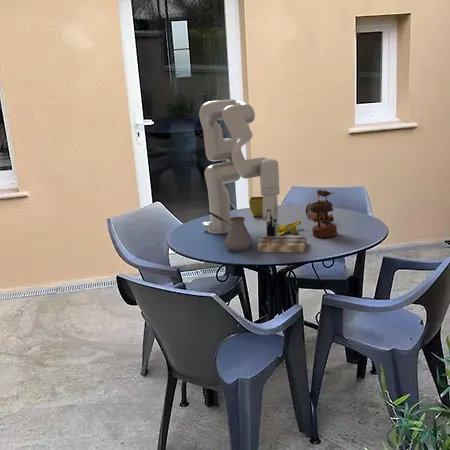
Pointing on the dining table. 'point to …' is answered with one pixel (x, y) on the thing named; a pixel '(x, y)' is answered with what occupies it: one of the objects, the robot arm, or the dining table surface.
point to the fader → (275, 231)
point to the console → (282, 244)
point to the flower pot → (256, 205)
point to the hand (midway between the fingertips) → (272, 233)
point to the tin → (312, 215)
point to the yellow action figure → (288, 228)
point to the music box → (319, 208)
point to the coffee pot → (236, 234)
